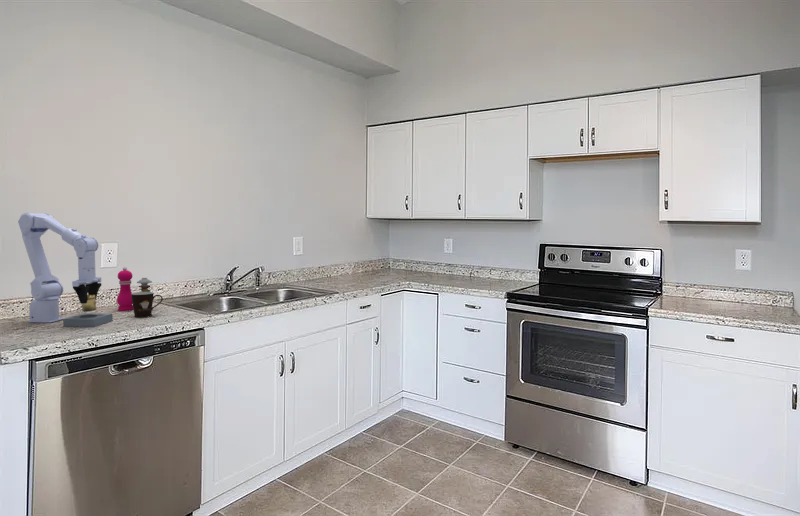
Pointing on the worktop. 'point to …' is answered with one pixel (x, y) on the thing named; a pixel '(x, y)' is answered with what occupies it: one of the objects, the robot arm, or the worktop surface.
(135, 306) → the coffee mug
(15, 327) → the worktop surface
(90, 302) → the cylinder
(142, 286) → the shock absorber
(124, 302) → the pepper mill
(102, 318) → the bore block
